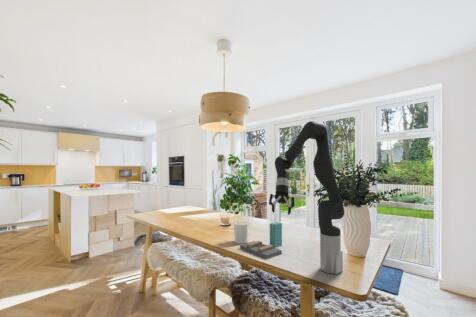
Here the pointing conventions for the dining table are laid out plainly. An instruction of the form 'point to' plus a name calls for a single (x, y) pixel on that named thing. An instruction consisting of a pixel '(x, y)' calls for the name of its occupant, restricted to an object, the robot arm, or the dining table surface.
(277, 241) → the long teal prism
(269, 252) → the display stand
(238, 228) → the candle holder
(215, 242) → the dining table surface
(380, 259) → the dining table surface
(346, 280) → the dining table surface
